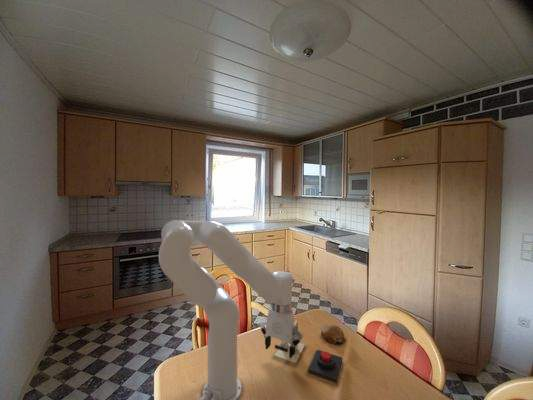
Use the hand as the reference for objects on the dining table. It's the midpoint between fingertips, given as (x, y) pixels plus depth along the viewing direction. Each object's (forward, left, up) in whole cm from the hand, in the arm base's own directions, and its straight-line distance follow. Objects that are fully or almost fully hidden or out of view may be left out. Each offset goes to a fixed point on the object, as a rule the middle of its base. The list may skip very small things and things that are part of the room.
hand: (279, 351), depth 86 cm
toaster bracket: (+10, -1, -7) cm, 12 cm away
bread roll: (+27, -15, -7) cm, 31 cm away
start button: (+8, -16, -3) cm, 18 cm away
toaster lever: (+6, -1, +2) cm, 6 cm away
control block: (+8, -16, -7) cm, 19 cm away
